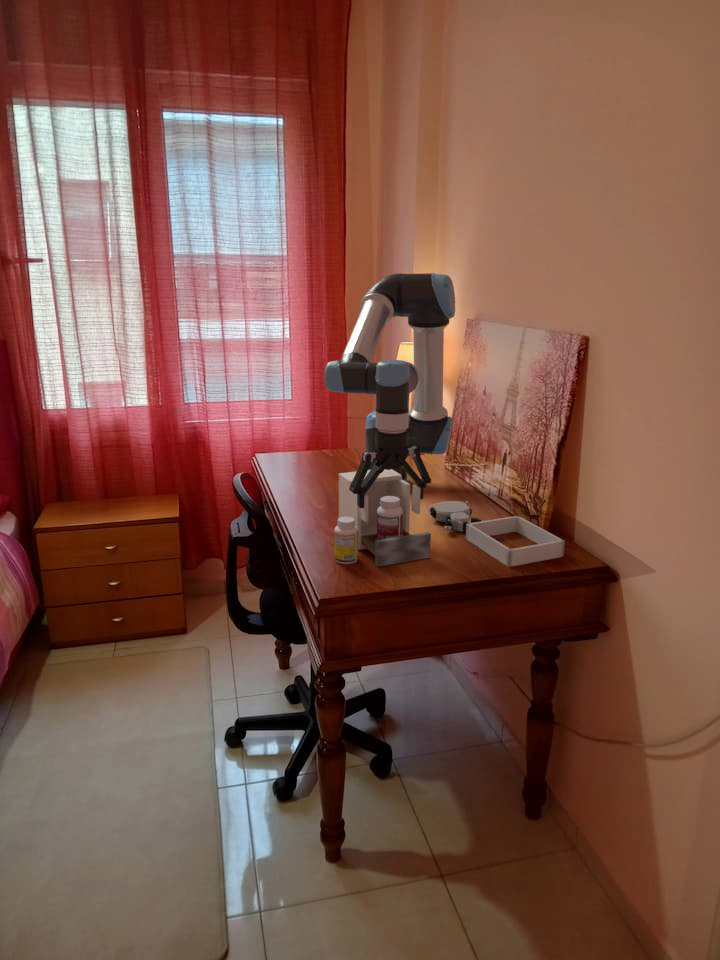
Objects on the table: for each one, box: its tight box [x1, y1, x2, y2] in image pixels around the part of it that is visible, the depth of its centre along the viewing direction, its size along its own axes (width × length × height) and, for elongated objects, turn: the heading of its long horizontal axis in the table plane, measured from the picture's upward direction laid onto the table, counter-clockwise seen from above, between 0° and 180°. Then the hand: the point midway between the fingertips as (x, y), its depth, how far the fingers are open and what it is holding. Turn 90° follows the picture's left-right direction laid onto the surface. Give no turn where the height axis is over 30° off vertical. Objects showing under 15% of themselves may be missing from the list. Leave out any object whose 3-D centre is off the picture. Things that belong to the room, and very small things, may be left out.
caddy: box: [338, 469, 411, 551], centre depth 171 cm, size 14×12×16 cm
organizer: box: [465, 515, 566, 568], centre depth 167 cm, size 16×19×4 cm
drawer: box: [362, 530, 432, 568], centre depth 162 cm, size 14×12×6 cm
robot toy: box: [425, 500, 482, 532], centre depth 182 cm, size 12×4×15 cm
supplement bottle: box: [333, 517, 359, 565], centre depth 158 cm, size 6×6×10 cm
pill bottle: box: [377, 496, 403, 540], centre depth 163 cm, size 6×6×11 cm
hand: (390, 516), depth 163 cm, fingers open, 13 cm apart
